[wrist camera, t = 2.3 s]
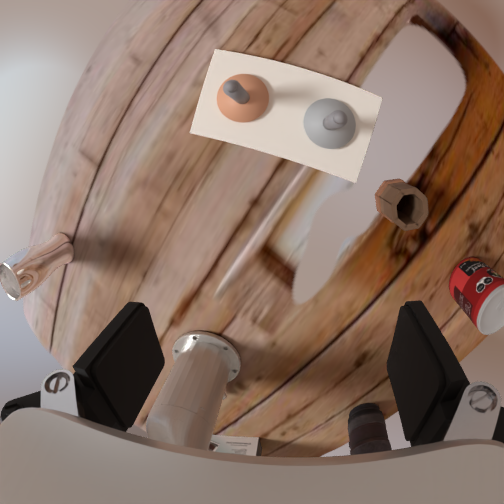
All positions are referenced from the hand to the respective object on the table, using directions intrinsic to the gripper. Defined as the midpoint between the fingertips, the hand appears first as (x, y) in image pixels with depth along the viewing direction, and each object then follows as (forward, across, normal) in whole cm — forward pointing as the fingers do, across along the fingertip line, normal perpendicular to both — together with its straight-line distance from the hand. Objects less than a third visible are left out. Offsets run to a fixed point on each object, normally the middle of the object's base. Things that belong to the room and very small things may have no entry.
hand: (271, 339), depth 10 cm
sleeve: (+29, -15, +1) cm, 33 cm away
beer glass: (+29, +41, +6) cm, 51 cm away
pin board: (+30, 0, -11) cm, 31 cm away
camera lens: (+29, -16, +46) cm, 56 cm away
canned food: (+30, -30, +14) cm, 44 cm away
